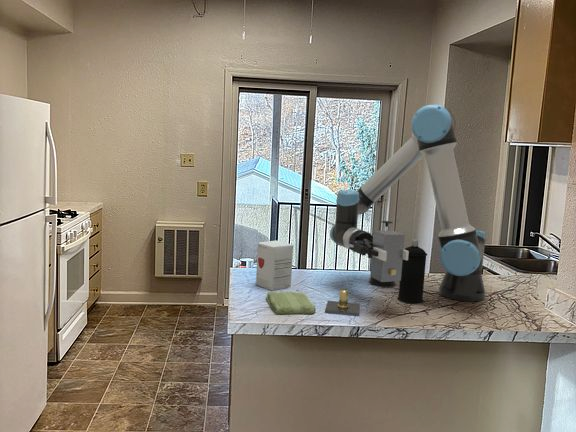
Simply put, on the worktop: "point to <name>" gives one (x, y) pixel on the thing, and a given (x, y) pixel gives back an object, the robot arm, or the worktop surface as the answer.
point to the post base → (342, 311)
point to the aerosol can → (413, 275)
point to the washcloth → (290, 303)
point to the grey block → (388, 256)
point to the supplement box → (274, 265)
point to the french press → (376, 282)
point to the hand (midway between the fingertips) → (396, 256)
